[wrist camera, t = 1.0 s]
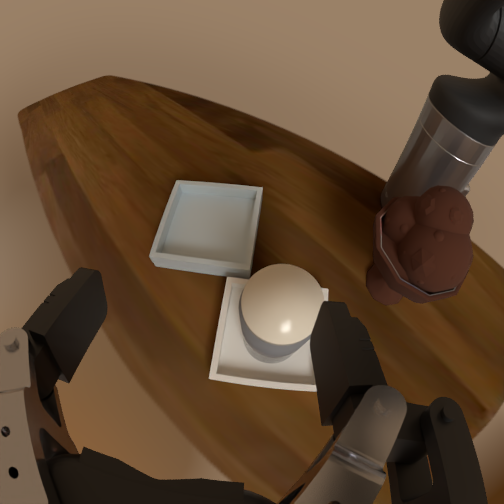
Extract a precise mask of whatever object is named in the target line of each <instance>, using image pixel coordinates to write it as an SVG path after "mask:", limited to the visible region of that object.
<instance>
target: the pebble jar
mask: <svg viewBox="0 0 504 504" xmlns="http://www.w3.org/2000/svg"><path fill="white" fill-rule="evenodd" d="M323 301H324V295H323V292H322V290H321V287H320V285H319V284H318V282H317V281H316V280H315V278H314V277H313V276H312V275H311V274H309V273H308V272H307V271H305V270H303V269H302V268H299V267H297V266H294V265H289V264H275V265H270V266H267V267H265V268H263V269H261V270H259V271H258V272H256V273H255V274H254V275H253V276H252V277H251V278H250V279H249V281H248V282H247V284H246V285H245V287H244V289H243V291H242V293H241V296H240V300H239V316H240V322H241V329H242V335H243V341H244V345H245V347H246V349H247V351H248V352H249V354H250V355H251V356H252V357H254V358H255V359H257V360H258V361H261V362H264V363H271V364H272V363H279V362H282V361H284V360H286V359H288V358H289V357H290V356H291V355H293V354H294V353H295V352H296V351H297V350H298V349H299V348H300V347H302V346H303V345H304V344H305V343H306V342H307V341H308V340H309V339H310V337H311V333H312V330H313V327H314V324H315V321H316V319H317V316H318V313H319V310H320V307H321V304H322V303H323Z"/></svg>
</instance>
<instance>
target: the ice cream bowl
mask: <svg viewBox="0 0 504 504" xmlns="http://www.w3.org/2000/svg"><path fill="white" fill-rule="evenodd" d="M473 221H474V220H473V211H472V209H471V206H470V204H469V202H468V200H467V199H466V197H465V196H464V195H463V194H462V193H461V192H460V191H458V190H457V189H455V188H453V187H450V186H440V185H437V186H434V187H431V188H429V189H428V190H427V191H426V192H425V193H423V194H422V195H421V196H403V197H393V198H392V199H391V200H390V201H389V202H388V203H387V204H386V205H385V206H384V207H383V208H382V209H381V210H380V211H379V212H378V213H377V214H376V217H375V220H374V224H373V261H374V263H375V264H374V265H373V266H372V268H371V269H370V270H369V271H368V272H367V282H366V286H367V288H368V290H369V292H370V293H371V295H372V297H373V299H375V300H377V301H379V302H381V303H382V304H384V305H390V304H396V303H398V302H399V301H400V300H401V298H402V297H403V296H404V297H406V298H408V299H410V300H412V301H413V302H416V303H426V302H430V301H435V300H439V299H444V298H448V297H451V296H454V295H457V293H458V291H459V289H460V287H461V285H462V283H463V281H464V279H465V277H466V275H467V273H468V271H469V270H468V269H469V267H470V265H471V263H472V259H473V251H472V245H471V239H470V236H469V234H470V231H471V229H472V225H473Z"/></svg>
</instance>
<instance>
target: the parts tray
mask: <svg viewBox="0 0 504 504" xmlns="http://www.w3.org/2000/svg"><path fill="white" fill-rule="evenodd" d="M248 281H249V279H242V278H234V277H227V280H226V285H225V291H224V296H223V301H222V307H221V312H220V318H219V323H218V329H217V334H216V340H215V346H214V351H213V357H212V363H211V369H210V375H209V379H212V380H218V381H224V382H230V383H237V384H243V385H251V386H259V387H267V388H276V389H287V390H299V391H315V392H317V389H316V383H315V376H314V370H313V364H312V358H311V352H310V339H309V340H308V341H307V342H306V343H305V344H304V345H303V346H302V347H300V348H299V349H298V350H297V351H296V352H295V353H294V354H293V355H291V356H290V357H289V358H288V359H286V360H284V361H282V362H279V363H272V364H271V363H264V362H261V361H258V360H257V359H255V358H254V357H252V356H251V355H250V354H249V352H248V351H247V349H246V347H245V345H244V341H243V335H242V329H241V322H240V316H239V300H240V296H241V293H242V291H243V289H244V287H245V285H246V284H247V282H248ZM321 290H322V292H323V295H324V301H328V289H324V288H321Z"/></svg>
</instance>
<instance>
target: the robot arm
mask: <svg viewBox="0 0 504 504" xmlns="http://www.w3.org/2000/svg"><path fill="white" fill-rule="evenodd" d="M439 24H440V29H441V33H442V35H443V37H444V39H445V40H446V41H447V42H448V43H449V44H450V45H451V46H452V47H453V48H455V49H456V50H457V51H459V52H460V53H462V54H463V55H465V56H466V57H468V58H469V59H471V60H473V61H474V62H476V63H477V64H479V65H480V66H482V67H484V68H485V69H487V70H488V71H490V74H489V75H488V76H487V77H485V78H480V79H468V78H461V77H456V76H451V75H441V76H438V77H437V78H436V79H435V81H434V83H433V85H432V88H431V90H430V92H429V94H428V97H427V99H426V102H425V104H424V106H423V109H422V111H421V113H420V116H419V118H418V120H417V122H416V124H415V127H414V129H413V131H412V133H411V135H410V137H409V140H408V142H407V144H406V146H405V148H404V150H403V152H402V154H401V156H400V158H399V160H398V163H397V164H396V166H395V168H394V170H393V172H392V174H391V176H390V178H389V180H388V182H387V183H386V185H385V187H384V189H383V191H382V193H381V204H382V208H383V207H384V206H385V205H386V204H387V203H388V202H389V201H390V200H391V199H392V198H393V197H403V196H421V195H422V194H423V193H425V192H426V191H427V190H428V189H429V188H431V187H434V186H437V185H440V186H450V187H453V188H455V189H457V190H458V191H460V192H461V193H462V194H463V195H464V196H466V195H467V194H468V192H469V190H470V186H469V184H468V183H469V182H470V181H471V179H472V178H473V177H474V175H475V174H476V173H477V171H478V170H479V168H480V167H481V165H482V164H483V163H484V161H485V160H486V158H487V156H488V155H489V154H490V152H491V151H492V149H493V148H494V146H495V144H496V143H497V142H498V140H499V139H500V137H501V136H502V135H503V134H504V0H444V1H443V4H442V7H441V11H440V18H439ZM106 314H107V301H106V296H105V292H104V287H103V282H102V277H101V273H100V272H99V271H98V270H92V269H87V268H79V269H78V270H77V271H76V272H75V273H74V274H73V276H72V277H71V278H70V279H67V280H65V281H63V282H62V283H60V284H58V285H57V286H56V288H55V289H54V290H53V291H52V292H51V293H50V296H48V297H47V298H46V299H45V300H44V303H42V304H41V305H40V306H39V307H38V308H37V310H36V311H35V312H34V313H33V315H32V316H31V317H30V318H29V320H28V321H27V322H26V323H25V325H24V326H23V328H17V327H16V328H10V329H7V330H5V331H4V332H2V333H1V334H0V504H276V503H274V502H272V501H271V500H269V499H267V498H265V497H263V496H261V495H259V494H256V493H254V492H251V491H247V490H244V483H239V482H227V481H217V480H209V479H202V478H200V479H181V480H158V479H154V478H152V477H150V476H148V475H146V474H144V473H142V472H140V471H138V470H136V469H135V468H133V467H131V466H129V465H127V464H126V463H124V462H122V461H120V460H119V459H116V458H113V457H110V456H107V455H104V454H101V453H99V452H96V451H93V450H91V449H88V448H86V447H84V448H83V450H82V453H81V454H79V453H78V451H77V448H76V446H75V444H74V443H73V441H72V440H71V438H70V436H69V434H68V431H67V428H66V424H65V420H64V416H63V412H62V408H61V404H60V399H59V395H58V390H57V387H56V385H55V384H56V382H57V380H58V379H59V380H62V381H65V382H67V383H70V381H71V379H72V377H73V375H74V373H75V371H76V369H77V367H78V366H79V364H80V362H81V360H82V358H83V356H84V354H85V353H86V351H87V349H88V347H89V345H90V343H91V342H92V340H93V339H94V337H95V335H96V333H97V332H98V330H99V328H100V327H101V325H102V323H103V322H104V320H105V318H106ZM310 352H311V358H312V364H313V370H314V376H315V383H316V389H317V396H318V403H319V410H320V417H321V424H322V426H328V425H333V430H334V433H333V435H332V436H331V437H330V439H329V440H328V442H327V443H326V445H325V446H324V447H323V449H322V450H321V452H320V453H319V454H318V456H317V457H316V458H315V460H314V461H313V462H312V464H311V465H310V466H309V468H308V469H307V470H306V471H305V473H304V474H303V475H302V476H301V477H300V479H299V480H298V481H297V482H296V483H295V484H294V485H293V486H292V487H291V488H290V489H289V490H288V492H287V493H286V494H285V495H284V496H283V497H282V498H281V499H280V500H279V502H278V503H277V504H372V503H373V501H374V500H375V498H376V496H377V494H378V492H379V491H380V489H381V487H382V485H383V483H384V480H385V477H386V473H385V472H384V471H383V466H384V464H385V462H387V468H388V475H389V483H390V491H391V500H392V504H488V503H487V497H486V492H485V487H484V482H483V478H482V474H481V470H480V466H479V462H478V458H477V455H476V452H475V448H474V445H473V441H472V438H471V435H470V432H469V429H468V426H467V423H466V420H465V418H464V415H463V412H462V410H461V408H460V406H459V405H458V404H457V403H456V402H455V401H454V400H452V399H450V398H447V397H440V398H437V399H435V400H434V401H433V402H432V403H431V404H430V405H429V406H423V405H417V404H412V403H407V402H406V401H405V399H404V397H403V396H402V395H401V393H400V392H398V391H397V390H396V389H394V388H392V387H390V386H388V385H387V383H386V380H385V377H384V374H383V371H382V369H381V366H380V363H379V360H378V358H377V355H376V352H375V351H374V347H373V344H372V342H371V341H370V337H369V334H368V331H367V329H366V327H365V326H364V325H363V324H362V323H361V322H360V320H359V319H358V318H355V317H351V316H350V313H349V311H348V308H347V305H346V304H345V303H344V302H332V301H323V303H322V304H321V307H320V310H319V313H318V316H317V319H316V321H315V324H314V327H313V330H312V333H311V337H310ZM427 455H428V457H429V461H430V466H431V471H432V476H433V485H432V479H431V474H430V469H429V464H428V460H427Z"/></svg>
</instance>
